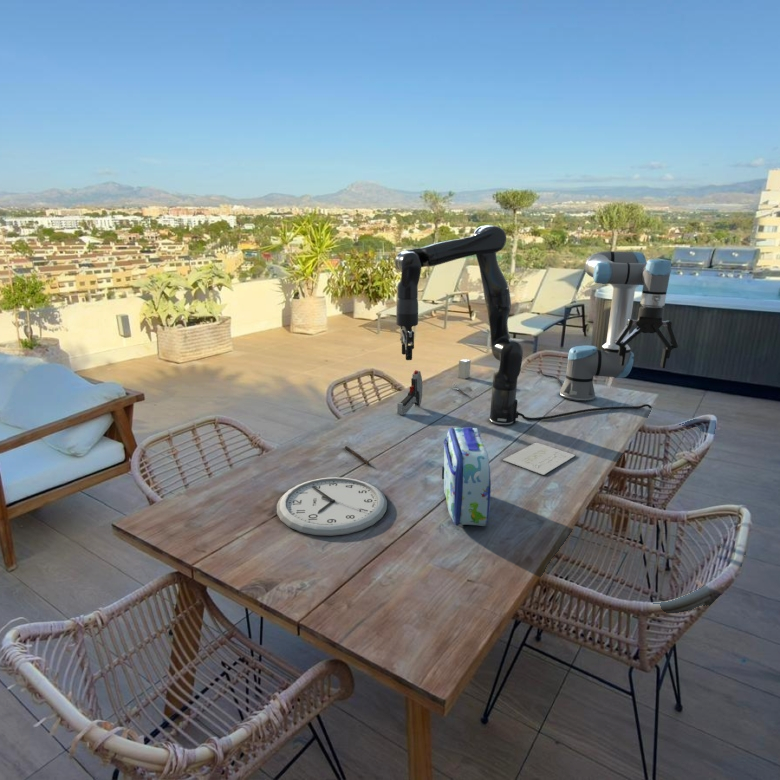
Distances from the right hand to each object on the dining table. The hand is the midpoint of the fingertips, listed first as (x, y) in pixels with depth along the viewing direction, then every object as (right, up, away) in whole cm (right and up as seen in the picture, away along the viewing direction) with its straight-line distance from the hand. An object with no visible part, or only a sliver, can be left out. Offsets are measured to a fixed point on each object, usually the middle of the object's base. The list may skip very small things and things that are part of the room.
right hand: (641, 366), depth 185 cm
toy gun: (-81, -17, +32) cm, 89 cm away
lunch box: (-69, -41, -43) cm, 91 cm away
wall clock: (-105, -40, -43) cm, 120 cm away
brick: (-52, -2, +82) cm, 97 cm away
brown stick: (-101, -31, -12) cm, 106 cm away
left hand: (-83, +3, 0) cm, 84 cm away
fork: (-57, -9, +58) cm, 82 cm away
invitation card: (-40, -31, -11) cm, 52 cm away
